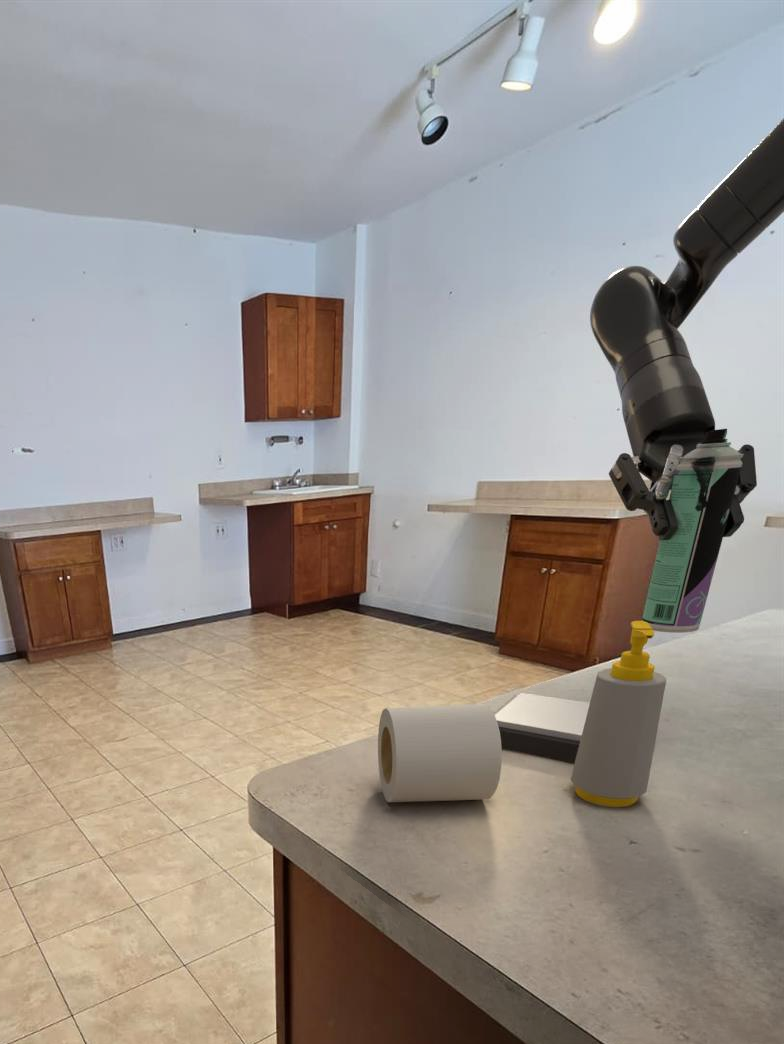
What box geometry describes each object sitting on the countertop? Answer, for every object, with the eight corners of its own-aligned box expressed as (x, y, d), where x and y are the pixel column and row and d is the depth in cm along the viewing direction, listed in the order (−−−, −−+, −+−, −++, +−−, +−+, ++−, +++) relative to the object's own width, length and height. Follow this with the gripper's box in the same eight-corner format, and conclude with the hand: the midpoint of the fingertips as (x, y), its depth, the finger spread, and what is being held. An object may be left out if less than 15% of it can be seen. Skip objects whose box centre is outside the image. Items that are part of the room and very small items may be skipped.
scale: (645, 733, 80) (651, 709, 79) (620, 772, 71) (626, 746, 70) (512, 711, 90) (515, 689, 89) (475, 743, 81) (478, 720, 80)
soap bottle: (571, 806, 65) (605, 632, 58) (565, 777, 71) (594, 616, 63) (651, 814, 63) (697, 633, 55) (637, 784, 68) (677, 616, 61)
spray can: (705, 633, 69) (761, 425, 61) (646, 632, 71) (692, 431, 63) (690, 621, 74) (740, 427, 65) (636, 621, 76) (677, 432, 67)
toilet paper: (464, 774, 73) (473, 691, 69) (494, 816, 64) (507, 724, 60) (376, 777, 74) (380, 695, 70) (393, 819, 65) (398, 728, 61)
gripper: (613, 389, 70) (646, 513, 64) (756, 377, 68) (802, 503, 62) (583, 444, 77) (610, 560, 71) (712, 434, 75) (750, 553, 69)
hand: (700, 533), depth 67 cm, fingers closed on spray can, 5 cm apart
